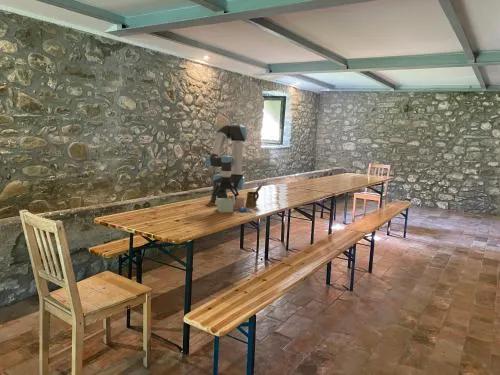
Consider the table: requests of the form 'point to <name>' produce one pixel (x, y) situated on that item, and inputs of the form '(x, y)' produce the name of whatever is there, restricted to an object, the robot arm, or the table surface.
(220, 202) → the sage cover
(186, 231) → the table surface
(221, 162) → the robot arm
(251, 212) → the slate tile
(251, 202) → the wooden mug
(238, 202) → the terracotta cover
